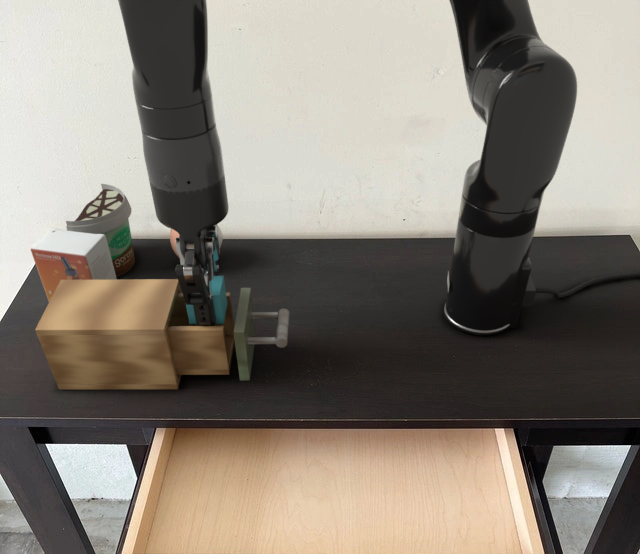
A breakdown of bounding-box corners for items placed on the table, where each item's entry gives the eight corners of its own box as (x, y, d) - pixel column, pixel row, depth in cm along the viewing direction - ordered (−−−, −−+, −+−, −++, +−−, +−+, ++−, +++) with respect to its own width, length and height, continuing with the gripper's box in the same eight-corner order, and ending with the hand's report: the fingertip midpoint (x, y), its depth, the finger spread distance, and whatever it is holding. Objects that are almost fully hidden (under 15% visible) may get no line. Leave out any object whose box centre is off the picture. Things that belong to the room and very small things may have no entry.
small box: (53, 316, 91) (27, 248, 83) (72, 293, 95) (50, 226, 87) (105, 323, 89) (85, 255, 82) (124, 300, 93) (105, 233, 86)
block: (227, 304, 79) (223, 275, 77) (223, 324, 77) (219, 295, 74) (194, 304, 79) (189, 275, 77) (189, 324, 77) (184, 295, 74)
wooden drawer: (291, 335, 86) (289, 287, 80) (288, 380, 79) (285, 332, 74) (152, 335, 86) (141, 288, 81) (138, 380, 80) (125, 332, 75)
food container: (123, 290, 95) (106, 227, 88) (83, 286, 96) (63, 222, 89) (155, 246, 103) (141, 185, 96) (118, 242, 104) (102, 181, 97)
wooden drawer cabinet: (190, 337, 87) (178, 278, 81) (178, 389, 80) (164, 329, 73) (81, 338, 87) (60, 279, 81) (58, 389, 80) (34, 329, 74)
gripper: (214, 205, 61) (234, 350, 73) (231, 141, 71) (246, 279, 83) (133, 206, 61) (167, 350, 73) (161, 142, 71) (187, 279, 83)
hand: (209, 312), depth 78 cm, fingers closed on block, 4 cm apart
